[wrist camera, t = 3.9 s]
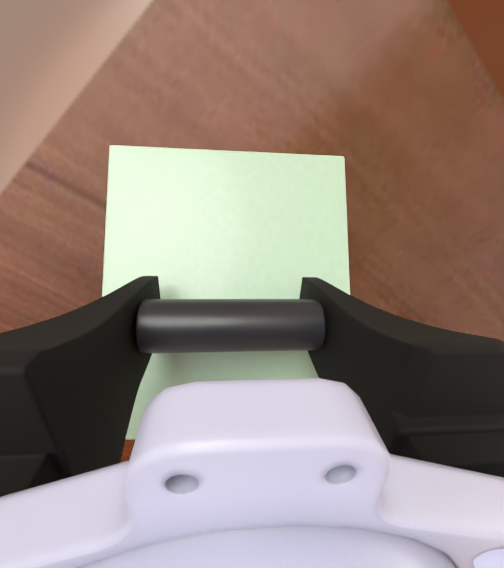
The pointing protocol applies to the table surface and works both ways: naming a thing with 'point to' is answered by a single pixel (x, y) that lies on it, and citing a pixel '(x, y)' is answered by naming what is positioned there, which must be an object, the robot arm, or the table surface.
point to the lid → (224, 260)
